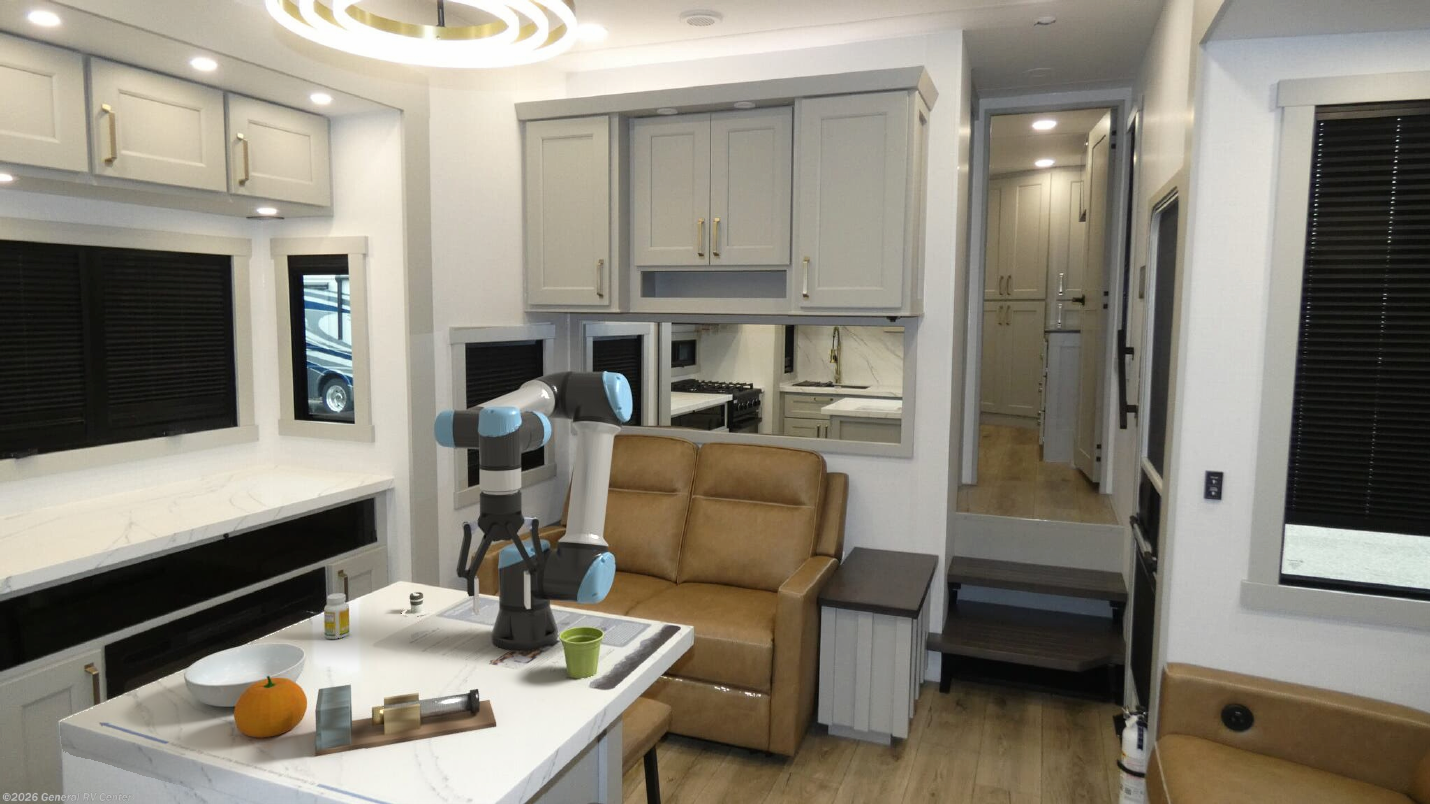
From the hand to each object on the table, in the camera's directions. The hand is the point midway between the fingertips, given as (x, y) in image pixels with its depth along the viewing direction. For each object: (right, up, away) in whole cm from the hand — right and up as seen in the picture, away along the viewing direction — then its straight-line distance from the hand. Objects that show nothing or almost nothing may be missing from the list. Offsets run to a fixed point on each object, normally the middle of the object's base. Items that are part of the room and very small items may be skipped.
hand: (502, 609), depth 157 cm
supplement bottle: (-49, -17, +41) cm, 66 cm away
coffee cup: (-37, -15, +58) cm, 71 cm away
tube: (-13, -19, -3) cm, 24 cm away
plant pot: (+12, -19, +21) cm, 30 cm away
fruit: (-41, -21, -5) cm, 46 cm away
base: (-16, -21, -5) cm, 27 cm away
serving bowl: (-53, -20, +9) cm, 57 cm away
